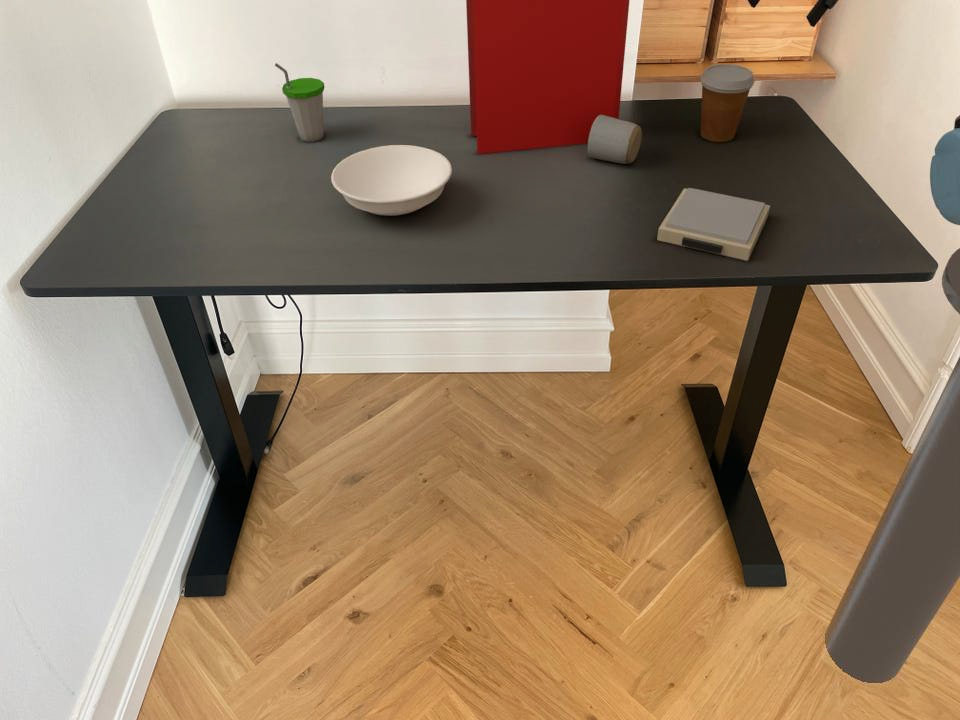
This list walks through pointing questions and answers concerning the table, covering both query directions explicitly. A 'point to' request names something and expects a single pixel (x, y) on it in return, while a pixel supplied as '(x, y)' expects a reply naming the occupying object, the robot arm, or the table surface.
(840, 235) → the table surface
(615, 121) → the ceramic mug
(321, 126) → the cup
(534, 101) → the book
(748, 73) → the disposable coffee cup
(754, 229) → the scale
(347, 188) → the bowl
